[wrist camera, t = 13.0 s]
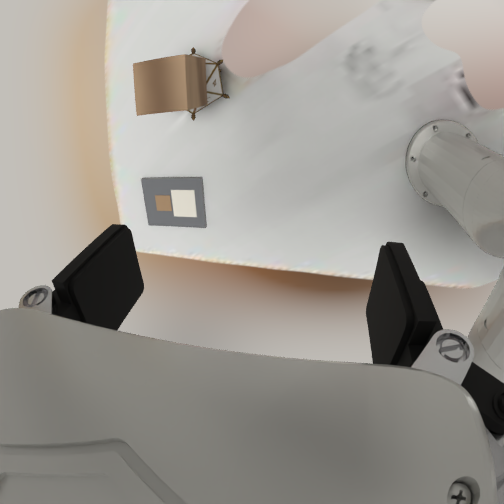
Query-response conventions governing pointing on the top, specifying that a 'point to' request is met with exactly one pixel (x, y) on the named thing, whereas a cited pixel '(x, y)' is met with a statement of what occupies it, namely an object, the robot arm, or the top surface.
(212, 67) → the game die
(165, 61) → the walnut block
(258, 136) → the top surface
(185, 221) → the card
